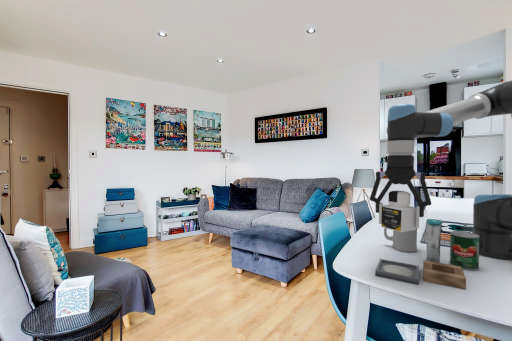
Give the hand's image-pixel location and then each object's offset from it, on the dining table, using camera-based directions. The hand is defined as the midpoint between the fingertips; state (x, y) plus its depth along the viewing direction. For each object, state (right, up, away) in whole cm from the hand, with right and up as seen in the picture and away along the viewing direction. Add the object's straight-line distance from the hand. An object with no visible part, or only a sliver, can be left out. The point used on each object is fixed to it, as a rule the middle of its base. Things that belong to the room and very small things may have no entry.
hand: (398, 225), depth 84 cm
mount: (+12, -16, -3) cm, 20 cm away
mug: (+14, -15, +25) cm, 32 cm away
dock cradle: (0, -16, +1) cm, 16 cm away
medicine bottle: (0, -1, 0) cm, 1 cm away
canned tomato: (+26, -16, +7) cm, 31 cm away
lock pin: (+18, -15, +10) cm, 25 cm away
